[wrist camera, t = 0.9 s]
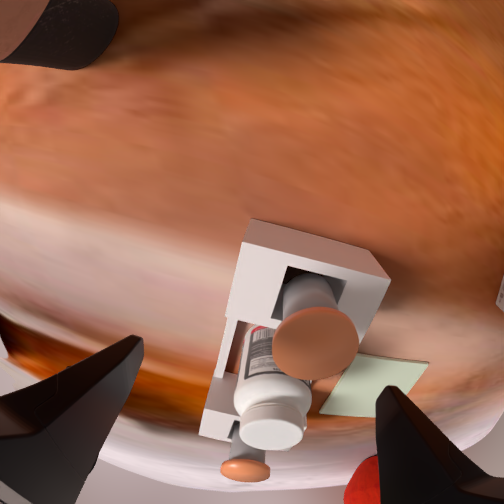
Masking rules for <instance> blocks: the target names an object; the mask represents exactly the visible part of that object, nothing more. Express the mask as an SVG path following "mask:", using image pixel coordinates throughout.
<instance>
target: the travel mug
mask: <svg viewBox="0 0 504 504" xmlns="http://www.w3.org/2000/svg"><path fill="white" fill-rule="evenodd" d="M118 19H119V16H118V11H117V9H116V7H115V5H114V4H113V3H112V2H110V1H109V0H0V63H12V64H24V65H33V66H42V67H49V68H56V69H64V70H76V69H80V68H83V67H85V66H87V65H88V64H90V63H91V62H93V61H94V60H95V59H96V58H98V57H99V56H100V55H101V54H102V53H103V51H104V50H105V49H106V48H107V46H108V45H109V44H110V42H111V40H112V38H113V36H114V34H115V32H116V29H117V26H118Z"/></svg>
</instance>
